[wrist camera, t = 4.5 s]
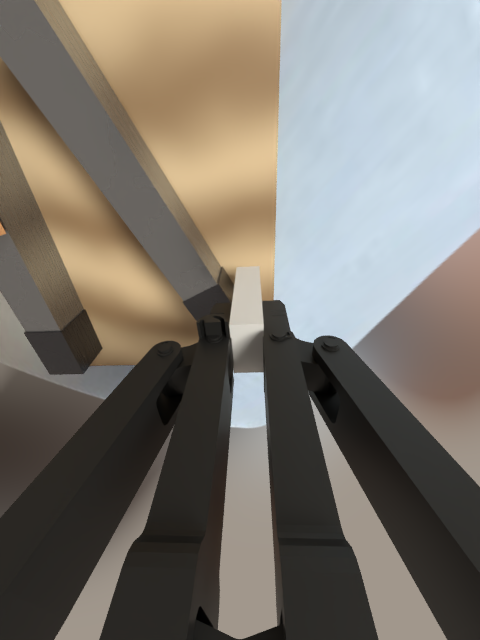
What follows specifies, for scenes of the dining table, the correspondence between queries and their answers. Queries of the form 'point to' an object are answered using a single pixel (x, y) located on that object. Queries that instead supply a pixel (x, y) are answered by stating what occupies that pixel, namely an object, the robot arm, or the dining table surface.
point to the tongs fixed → (39, 277)
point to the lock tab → (2, 230)
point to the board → (163, 155)
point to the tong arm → (109, 146)
